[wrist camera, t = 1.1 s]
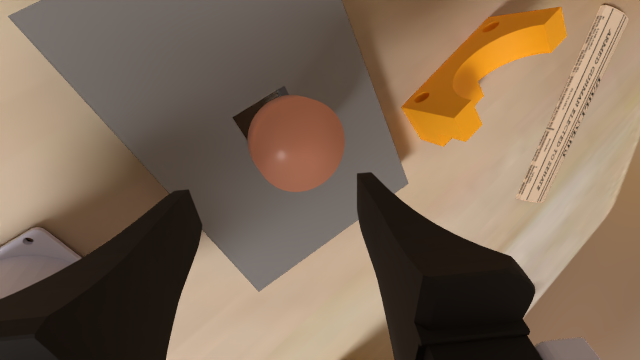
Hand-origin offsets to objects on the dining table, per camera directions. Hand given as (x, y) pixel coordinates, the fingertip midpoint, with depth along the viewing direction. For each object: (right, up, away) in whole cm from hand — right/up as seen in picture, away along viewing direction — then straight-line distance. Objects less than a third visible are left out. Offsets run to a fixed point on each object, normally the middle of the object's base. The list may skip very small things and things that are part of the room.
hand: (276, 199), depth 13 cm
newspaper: (+34, +10, +26) cm, 44 cm away
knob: (-1, +4, +7) cm, 8 cm away
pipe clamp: (+15, +11, +16) cm, 24 cm away
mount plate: (-2, +6, +10) cm, 12 cm away
